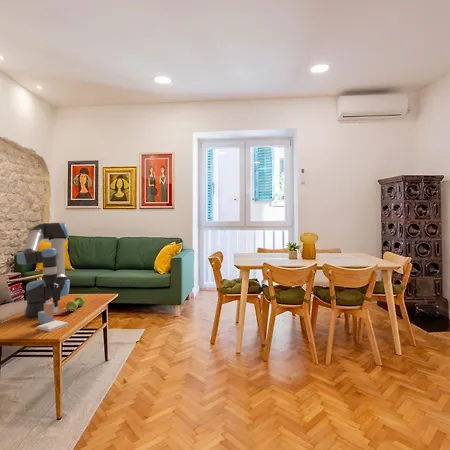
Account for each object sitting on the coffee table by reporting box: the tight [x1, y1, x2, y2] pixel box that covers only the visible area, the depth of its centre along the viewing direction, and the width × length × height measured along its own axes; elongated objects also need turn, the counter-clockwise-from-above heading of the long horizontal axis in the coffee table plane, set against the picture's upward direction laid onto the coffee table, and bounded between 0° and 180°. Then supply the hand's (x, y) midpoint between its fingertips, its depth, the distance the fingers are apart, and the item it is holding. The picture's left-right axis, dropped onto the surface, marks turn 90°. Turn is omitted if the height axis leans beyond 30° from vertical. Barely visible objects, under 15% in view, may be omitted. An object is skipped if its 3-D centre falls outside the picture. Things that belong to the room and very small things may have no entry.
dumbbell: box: [65, 296, 86, 313], centre depth 230 cm, size 16×8×7 cm, turn 2°
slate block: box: [37, 311, 54, 325], centre depth 201 cm, size 6×6×7 cm
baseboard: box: [36, 319, 69, 333], centre depth 192 cm, size 12×12×2 cm
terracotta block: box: [44, 301, 61, 317], centre depth 191 cm, size 6×6×7 cm
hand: (52, 311), depth 192 cm, fingers closed on terracotta block, 6 cm apart
